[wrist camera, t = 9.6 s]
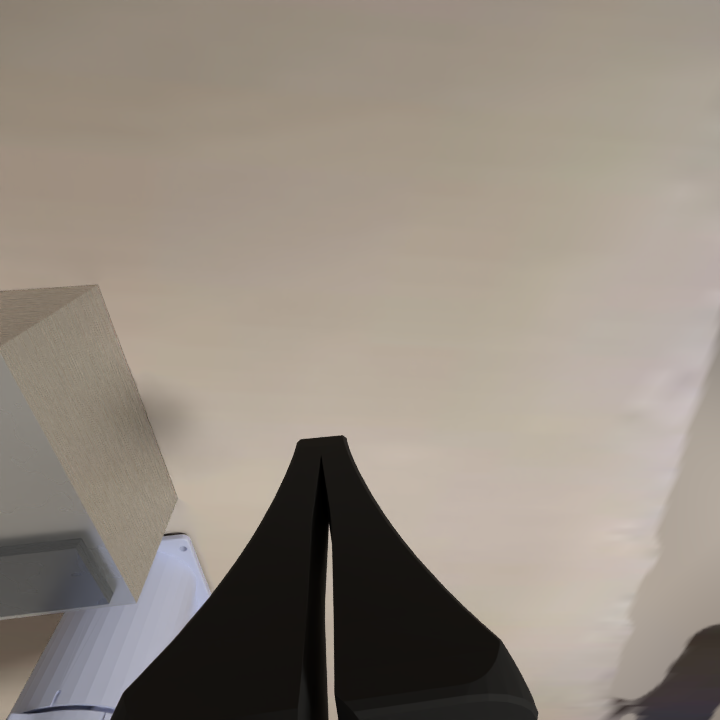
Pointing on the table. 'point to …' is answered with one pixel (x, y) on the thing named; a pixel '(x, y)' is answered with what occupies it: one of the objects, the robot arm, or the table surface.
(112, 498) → the motor housing
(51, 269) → the table surface
